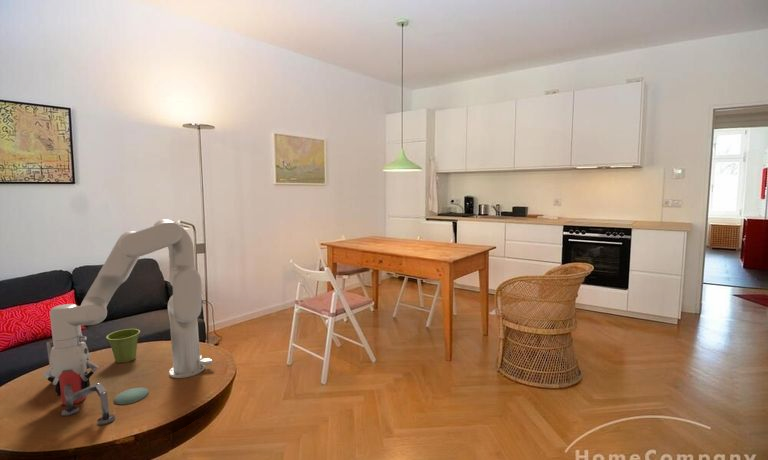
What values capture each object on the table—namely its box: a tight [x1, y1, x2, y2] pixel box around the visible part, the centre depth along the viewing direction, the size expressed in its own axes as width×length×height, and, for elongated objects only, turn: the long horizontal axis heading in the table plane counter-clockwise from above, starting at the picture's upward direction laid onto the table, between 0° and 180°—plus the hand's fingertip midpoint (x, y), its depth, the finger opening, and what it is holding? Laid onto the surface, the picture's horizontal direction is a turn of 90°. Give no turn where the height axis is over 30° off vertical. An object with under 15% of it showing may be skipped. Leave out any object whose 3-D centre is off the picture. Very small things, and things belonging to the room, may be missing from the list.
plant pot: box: [105, 328, 141, 364], centre depth 166 cm, size 12×12×11 cm
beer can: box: [59, 370, 87, 406], centre depth 134 cm, size 7×7×12 cm
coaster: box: [113, 387, 150, 405], centre depth 137 cm, size 10×10×1 cm
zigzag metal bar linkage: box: [60, 382, 116, 426], centre depth 125 cm, size 17×13×9 cm
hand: (73, 391), depth 134 cm, fingers closed on beer can, 6 cm apart
